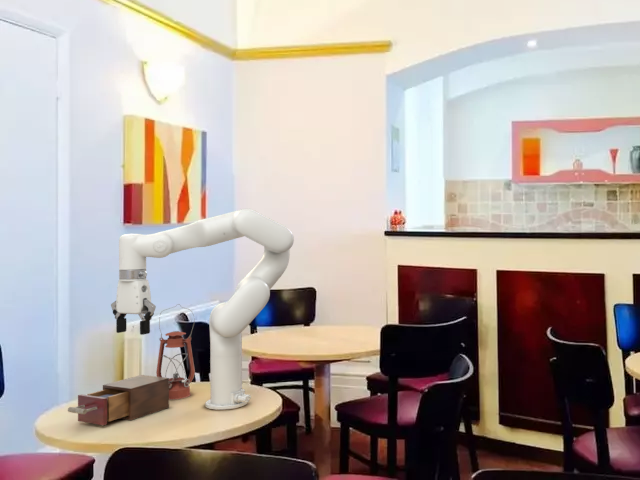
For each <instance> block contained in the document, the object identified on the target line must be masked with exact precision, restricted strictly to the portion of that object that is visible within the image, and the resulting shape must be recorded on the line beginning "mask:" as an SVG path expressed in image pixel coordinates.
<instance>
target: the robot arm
mask: <svg viewBox="0 0 640 480" xmlns="http://www.w3.org/2000/svg"><path fill="white" fill-rule="evenodd" d="M243 237H245V238H248V239H249V240H251V241H253V242H255V243H256V244H258V245H260V246H262V247H263V253H262V257H261V258H260V259H259V260H258V262H257V263H256V264H255V266H254V267H253V268H252V269H251V270H250V271H249V272H248V273H247V274H246V275H245V276H244V277H243V278H242V279H240V281H239V282H238V283H237V285H236V287H235V289H234V294H233V295H232V296H231V297H230V298H229V299H228V300H227V301H225V302H221V303H218V304H216V305H215V306H214V307H213V308H212V310H211V312H210V313H209V319H208V322H209V323H208V325H209V342H210V344H209V346H210V347H209V349H210V351H209V352H210V353H209V354H210V358H209V359H210V360H209V363H210V366H209V367H210V369H209V370H210V371H209V372H210V375H209V376H210V377H209V379H210V399H208V400H207V401H205V403H204V405H205V408H207V409H210V410H215V411H216V410H217V411H221V410H222V411H223V410H225V411H226V410H232V409H238V408H242V407H245V406H246V405H247V404H248V403H249V402H250V400H251V398H252V395H251V394H246V389H244V388H243V338H242V332H243V331H244V330H245V329H246V328H247V327H248V326H249V325H250V324H251V323H252V322H253V321H254V319H255V318H256V317H257V316H258V315H259V314H260V313H261V311H262V310H263V309H264V308H265V307H266V305H267V304H268V302H269V300H270V297H271V289H272V288H273V287H274V286H275V285H276V283H277V282H278V281H279V279H281V277H282V276H283V275H284V273H285V272H286V270H287V268H288V266H289V261H290V255H291V254H290V253H291V248H292V247H293V245H294V242H295V236H294V234H293V232H292V230H291V229H289V227H287V226H286V225H284V224H281V223H279V222H278V221H276V220H273V219H271V218H270V217H268V216H266V215H264V214H262V213H260V212H258V211H256V210H254V209H252V208H242V209H241V208H240V209H237V210H234V211H229V212H226V213H222V214H219V215H215V216H210V217H206V218H203V219H199V220H196V221H193V222H192V223H188V224H185V225H182V226H178V227H174V228H171V229H170V228H169V229H167V230H163V231H159V232H155V233H150V234H143V233H126V234H122V235H120V236H119V239H118V282H117V287H116V298H115V299H116V300H115V301H114V302H112V303H110V308H111V311H112V314H113V315H114V319H115V320H116V321H115V323H116V327H115V328H116V330H115V331H116V333H117V334H120V333H125V332H127V318H126V316H127V315H138V316H139V318H140V319H141V320H139V335H141V336H143V335H148V334H150V333H151V320H152V319H153V316H154V315H155V311H156V308H157V305H155V304H154V303H153V302H152V295H151V286H150V282H149V279H147V276H148V272H147V258H154V259H155V258H156V259H163V258H166V257H168V256H169V255H170V254H171V255H172V254H175V253H177V252H182V251H186V250H190V249H194V248H195V249H196V248H206V247H210V246H211V247H212V246H214V245H215V246H216V245H218V244H221V243H224V242H229V241H232V240H236V239H240V238H243Z"/></svg>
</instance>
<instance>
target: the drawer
mask: <svg viewBox="0 0 640 480" xmlns="http://www.w3.org/2000/svg"><path fill="white" fill-rule="evenodd" d="M106 394H111V395H113V396H109V397H107V398H104V397H99V396H103V395H106ZM67 412H68V413H72V414H77V421H78V422H81V423H88V424H93V425H98V426H99V425H100V426H106V425H108V422H112V421H114V420H118V419H119V418H122V417H125V416H128V415H129V391H124V390H117V389H109V388H108V389H105V390H103V389H102V390H101V389H100V390H97V391H94V392H90V393H87V394H81V393H80V394H78V395H77V406H75V407H74V406H69V407H68V408H67Z"/></svg>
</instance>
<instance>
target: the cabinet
mask: <svg viewBox="0 0 640 480" xmlns="http://www.w3.org/2000/svg"><path fill="white" fill-rule="evenodd" d="M108 388H109V389H117V390H124V391H129V415H128V416H125V417H122V418H119V419H121V420H126V421H133V420H136V419H139V418H142V417H145V416H148V415H151V414H155V413H157V412H161V411H163V410H166V409H169V408H170V400H169V377H164V376H162V377H157V376H154V375H146V374H139V375H135V376H131V377H127V378H124V379H121V380H117V381H113V382H109V383H105V384H102V390H105V389H108Z"/></svg>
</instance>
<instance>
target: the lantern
mask: <svg viewBox="0 0 640 480" xmlns="http://www.w3.org/2000/svg"><path fill="white" fill-rule="evenodd" d="M178 305H179V306H180V307H181V308H182V309H184V307H183V306H182V305H181V304H180V303H178V304H176V305H175V306H172V307H169V308H166V309H163V310H162V312H164V311H167V310H170V309H174V308H175V307H177V306H178ZM185 309H186V310H189V311H190V312H191V313H192V315H193V317H195V315H194V313H193V310H191V309H189V308H186V307H185ZM162 312H160V313H159V315H161V314H162ZM193 322H195V318H193ZM160 323H161V318H159V322H158V328H159V332H160V337H159V343H160V344H159V349H158V356H157V357H158V358H157V365H156V370H155V371H156V372H155V373H156V374H155V375H156V377H163V376H162V366H163V360H164V359H163V358H166V359H168V360H170V361H169V362H168V365H167V367H166V370H165V373H168V368H169V366H170V363H172V364H173V366H174V368H175V372H174V373H173V375H172V377H170V378H169V377H168V378H169V401H172V400H181V399H185V398H189V397H190V396H191V395H192V393H191V387H190V386H191V385H190V384H191V383H192V381H193V380H194V377H195V372H196V370H195V364H194V357H193V350H192V344H191V343H192V342H191V341H192V334H193V329H194V326H195V324H192V329H191V331H190V334H189V336H188V337H187V338H184V336H183V335H186V334H187V333H186V332H183V331H180V330H173V331H170V332H167V333H165V334H164V335H165V337H167V339H165V338H163V334H162V330H161V325H160ZM183 347H186V352H187V353H183V352H182V353H178V354H176V355H174V356H173V357H168V356H167V355H165V354H164V352H165V348H168V349H175V348H176V349H177V348H183ZM180 355H185V357H184V358H183V359H182V361H181V362H180V361H179V360H178V359H177V358H175V357H177V356H180ZM186 358H188V365H189V375H188V378H187V374H186V371H185V368H184V366H183V365H182V364H183V362H184V361H185V360H186ZM173 360H174V361H176V362H178V363H179V365H178V366H176V364H175V363H174V361H173ZM180 366H181V368H182V371H183V373H184V377H181V376H180V374H179V372H178V369H179V367H180ZM164 378H167V374H165V377H164Z"/></svg>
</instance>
